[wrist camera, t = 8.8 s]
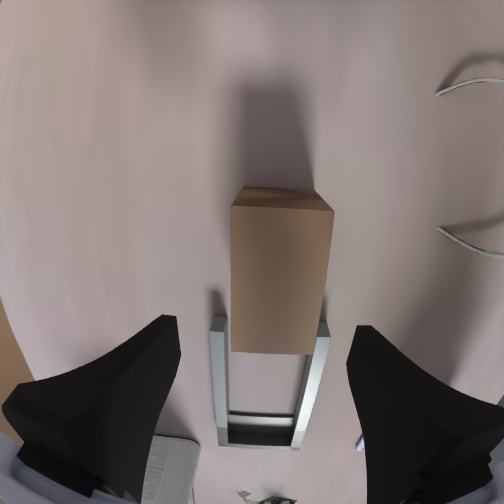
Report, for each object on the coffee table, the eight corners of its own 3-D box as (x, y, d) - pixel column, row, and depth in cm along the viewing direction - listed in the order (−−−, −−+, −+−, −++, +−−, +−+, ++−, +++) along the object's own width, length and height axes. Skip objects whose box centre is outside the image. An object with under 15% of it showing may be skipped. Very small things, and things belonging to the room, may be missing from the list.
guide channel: (326, 321, 21) (330, 337, 19) (298, 435, 27) (298, 449, 25) (214, 315, 21) (209, 331, 20) (221, 431, 27) (218, 445, 25)
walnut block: (314, 190, 18) (334, 211, 12) (303, 300, 21) (312, 354, 15) (243, 186, 18) (231, 205, 12) (241, 298, 21) (231, 351, 15)
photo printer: (135, 444, 31) (109, 514, 19) (122, 427, 29) (90, 502, 18) (205, 453, 30) (189, 534, 18) (195, 436, 28) (175, 526, 17)
